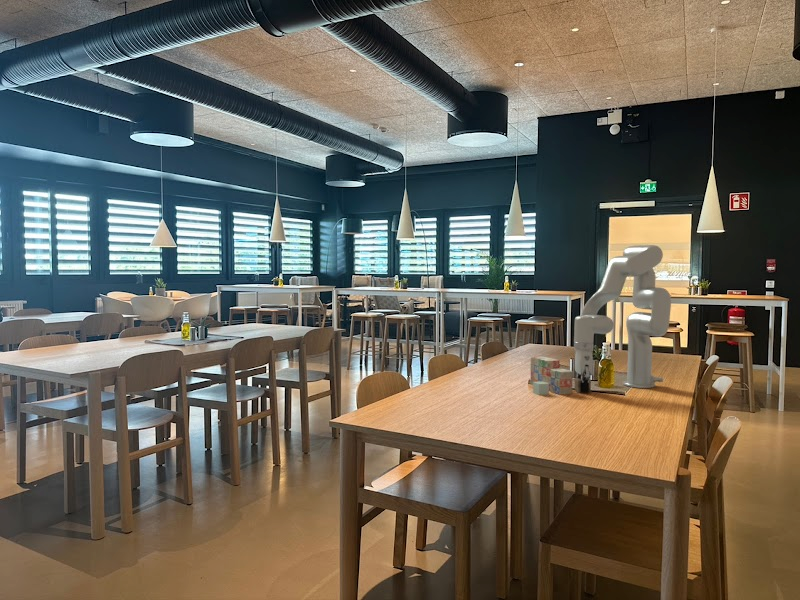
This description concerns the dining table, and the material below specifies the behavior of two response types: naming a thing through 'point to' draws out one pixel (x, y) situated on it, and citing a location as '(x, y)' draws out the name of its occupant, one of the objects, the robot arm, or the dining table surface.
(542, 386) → the sage block
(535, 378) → the stack of blocks
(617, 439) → the dining table surface
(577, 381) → the walnut cube
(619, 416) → the dining table surface
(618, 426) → the dining table surface
